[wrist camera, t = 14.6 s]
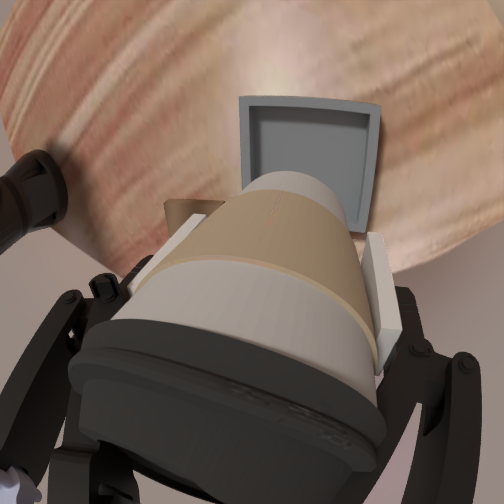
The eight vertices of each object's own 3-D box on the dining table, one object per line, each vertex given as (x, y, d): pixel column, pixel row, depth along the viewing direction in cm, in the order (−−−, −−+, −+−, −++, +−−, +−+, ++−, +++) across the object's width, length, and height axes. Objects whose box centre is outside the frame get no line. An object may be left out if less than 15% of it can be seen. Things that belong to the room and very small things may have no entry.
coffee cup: (295, 306, 20) (236, 520, 8) (193, 226, 19) (42, 423, 7) (395, 227, 15) (441, 518, 3) (278, 117, 14) (-1, 353, 2)
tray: (248, 210, 36) (243, 219, 34) (245, 95, 28) (238, 96, 26) (363, 222, 32) (365, 232, 30) (376, 104, 25) (380, 105, 23)
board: (178, 241, 42) (172, 248, 40) (170, 197, 38) (163, 203, 36) (229, 246, 40) (225, 254, 38) (225, 199, 36) (220, 205, 35)
